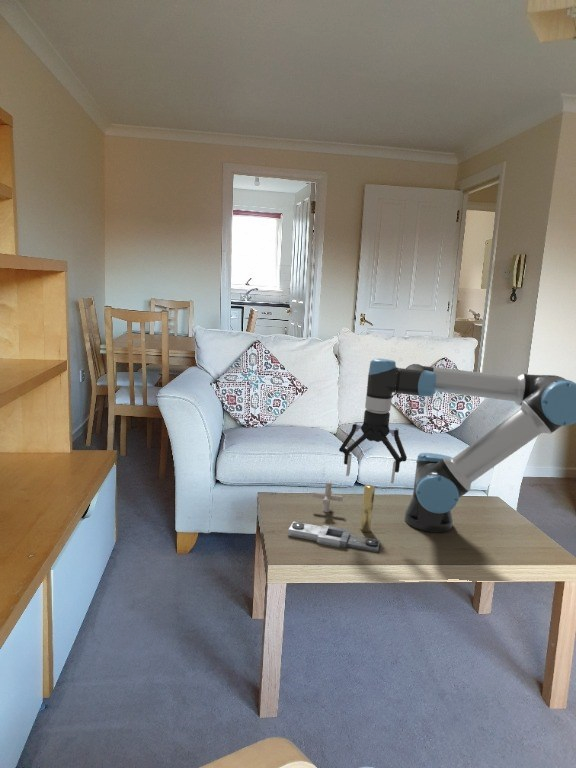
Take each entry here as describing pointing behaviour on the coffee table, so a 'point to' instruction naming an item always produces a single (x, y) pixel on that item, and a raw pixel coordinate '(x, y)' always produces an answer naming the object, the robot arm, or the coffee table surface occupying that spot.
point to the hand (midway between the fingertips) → (369, 478)
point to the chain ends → (332, 536)
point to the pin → (367, 508)
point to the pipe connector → (327, 496)
